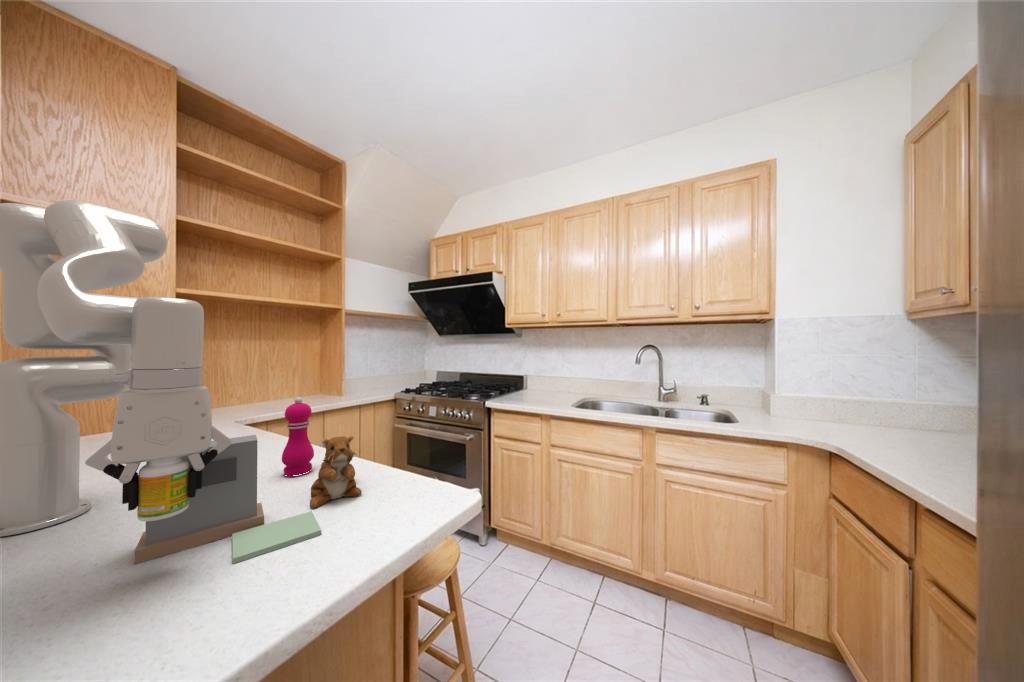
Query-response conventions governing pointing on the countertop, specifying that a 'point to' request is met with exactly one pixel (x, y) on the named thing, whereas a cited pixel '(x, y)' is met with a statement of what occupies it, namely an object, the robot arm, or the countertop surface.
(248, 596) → the countertop surface
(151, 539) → the panel
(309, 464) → the pepper mill
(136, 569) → the countertop surface
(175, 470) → the supplement bottle
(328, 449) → the stuffed squirrel
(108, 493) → the countertop surface
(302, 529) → the pad
